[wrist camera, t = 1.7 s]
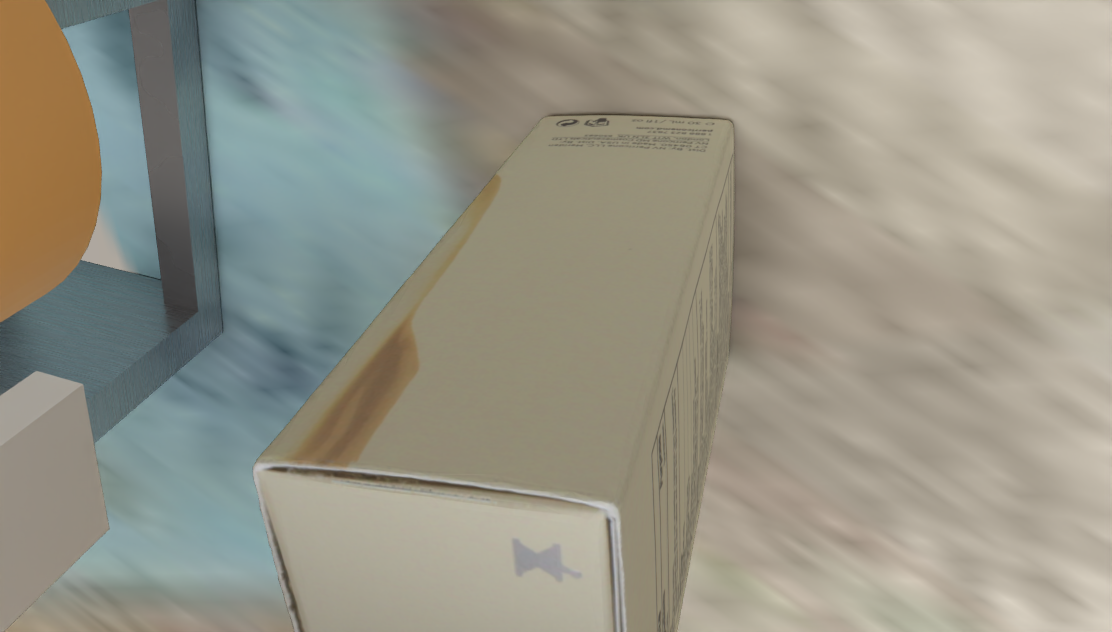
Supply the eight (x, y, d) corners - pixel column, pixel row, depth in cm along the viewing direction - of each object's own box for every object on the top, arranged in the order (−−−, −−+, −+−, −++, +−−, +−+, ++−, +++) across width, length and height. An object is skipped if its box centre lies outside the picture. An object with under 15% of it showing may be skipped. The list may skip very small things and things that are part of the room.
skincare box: (538, 110, 20) (226, 434, 10) (740, 113, 19) (622, 482, 9) (556, 361, 23) (330, 809, 13) (731, 377, 22) (635, 879, 12)
